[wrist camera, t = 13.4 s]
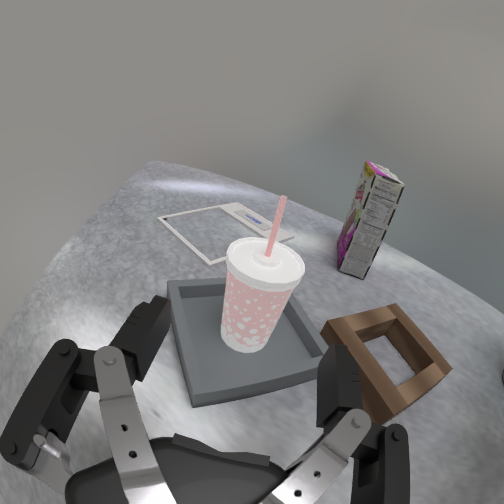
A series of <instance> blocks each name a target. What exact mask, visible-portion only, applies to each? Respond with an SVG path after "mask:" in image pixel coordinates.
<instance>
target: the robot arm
mask: <svg viewBox="0 0 504 504" xmlns="http://www.w3.org/2000/svg"><path fill="white" fill-rule="evenodd" d="M170 323H171V300H170V299H167V298H164V297H161V296H158V295H155V296H154V298H153V299H152V301H151V302H150V304H149V303H146V302H142V303H141V304H139V305H138V306H136V307H135V308H134V310H133V311H132V312H131V314H130V316H129V317H128V318H127V320H126V322H125V323H124V324H123V325H122V327H121V328H120V330H119V331H118V333H117V334H116V336H115V337H114V339H113V340H112V342H111V343H110V344H109V345H108V346H104V347H102V348H100V349H98V350H96V351H94V350H87V349H80V348H78V346H77V345H76V343H75V342H74V341H72V340H70V339H61V340H59V341H57V342H56V343H55V344H54V345H53V346H52V348H51V349H50V351H49V352H48V354H47V355H46V357H45V358H44V360H43V361H42V363H41V365H40V366H39V368H38V369H37V371H36V373H35V374H34V376H33V377H32V379H31V381H30V382H29V384H28V386H27V388H26V389H25V391H24V393H23V395H22V396H21V398H20V400H19V402H18V404H17V405H16V407H15V409H14V411H13V413H12V415H11V417H10V419H9V421H8V423H7V425H6V427H5V429H4V431H3V433H2V435H1V437H0V453H1V455H2V456H3V458H4V459H5V460H6V461H7V462H9V463H10V464H12V465H14V466H16V467H17V468H18V469H20V470H22V471H24V472H26V473H28V474H30V475H33V476H34V477H36V478H37V479H39V480H40V481H41V482H43V483H45V484H46V485H48V486H49V487H51V488H52V489H54V490H56V491H57V492H59V493H60V494H62V495H64V496H65V500H66V504H313V503H314V502H315V501H316V500H317V499H318V498H319V497H320V496H321V495H322V494H323V493H324V492H325V491H326V489H327V488H328V487H329V486H330V485H331V484H332V483H333V482H334V480H335V479H336V478H337V477H338V476H339V475H340V473H341V472H342V471H343V470H344V469H345V467H346V466H347V464H348V461H347V460H348V458H349V457H353V458H354V469H353V482H352V493H351V503H350V504H410V462H409V444H408V434H407V431H406V429H405V428H404V427H403V426H402V425H400V424H391V425H389V426H388V427H384V426H382V425H379V424H376V423H374V422H372V421H371V419H370V417H369V415H368V414H367V413H366V412H365V411H364V410H363V401H362V391H361V383H360V376H359V375H360V374H359V366H358V364H357V362H356V360H355V358H354V357H350V356H349V352H348V346H347V345H343V344H337V343H331V345H330V346H329V348H328V349H327V351H326V352H325V354H324V355H323V357H322V359H321V360H320V362H319V365H318V369H317V421H316V427H320V428H324V433H323V434H322V435H321V436H320V437H319V438H318V439H317V440H316V441H315V442H314V443H313V444H312V445H311V446H310V447H309V448H308V449H307V450H306V451H305V452H304V453H303V454H302V455H301V456H300V457H299V458H298V459H297V460H296V461H294V462H293V463H292V464H291V465H289V466H288V467H287V468H286V469H285V470H283V469H282V468H281V467H280V466H278V465H276V464H275V463H273V462H271V461H270V456H266V455H259V454H254V453H248V452H219V451H217V450H215V449H213V448H211V447H209V446H208V445H206V444H204V443H202V442H200V441H198V440H195V439H192V438H188V437H185V436H182V435H179V434H176V433H175V434H174V437H160V438H154V439H151V440H149V438H148V435H147V432H146V430H145V427H144V424H143V421H142V418H141V415H140V412H139V409H138V406H137V402H136V399H135V396H134V392H133V388H132V386H133V384H134V382H135V380H138V381H140V382H142V381H143V379H144V377H145V375H146V373H147V371H148V369H149V367H150V365H151V363H152V361H153V359H154V357H155V356H156V354H157V352H158V350H159V348H160V346H161V344H162V342H163V340H164V338H165V336H166V334H167V332H168V330H169V327H170ZM503 381H504V371H503ZM89 391H92V392H99V394H100V400H99V404H100V410H101V414H102V418H103V422H104V426H105V430H106V434H107V438H108V441H109V445H110V448H111V451H112V454H113V457H112V458H110V459H108V460H106V461H103V462H101V463H99V464H96V465H94V466H92V467H89V468H87V469H84V470H82V471H79V472H77V473H75V474H73V473H72V471H71V468H70V459H71V453H70V450H69V448H68V447H67V445H66V444H65V443H66V440H67V438H68V436H69V433H70V431H71V429H72V427H73V424H74V422H75V420H76V418H77V416H78V414H79V411H80V409H81V407H82V405H83V403H84V401H85V399H86V397H87V395H88V393H89Z"/></svg>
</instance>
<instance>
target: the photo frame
mask: <svg viewBox="0 0 504 504" xmlns="http://www.w3.org/2000/svg"><path fill="white" fill-rule="evenodd" d="M213 210H220V211H222V212H223V213H225V214H226V215H228V216H229V217H231V218H232V219H234V220H235V221H237V222H238V223H240V224H241V225H243V226H244V227H246V228H247V229H249V230H251V231H252V232H254V233H255V234H257V235H258V236H260V237H261V238H266V239H269V237H270V233H271V230H272V226H273V223H272V222H270V221H268V220H267V219H265V218H263V217H262V216H260V215H258V214H257V213H255V212H253V211H252V210H250V209H248V208H247V207H245V206H243V205H242V204H240V203H238V202H236V203H230V204H224V205H218V206H213V207H207V208H202V209H197V210H191V211H186V212H181V213H176V214H171V215H166V216H161V217H157V221H158V222H159V223H160V224H161V225H162V226H163V227H164V228H166V229H167V230H168V231H169V232H170V233H171V234H172V235H173V236H174V237H175V238H176V239H177V240H178V241H180V242H181V243H182V244H183V245H184V246H185V247H186V248H187V249H188V250H189V251H190V252H191V253H193V254H194V255H195V256H196V257H197V258H198V259H199V260H200V261H201V262H203V263H204V264H205V265H206V266H207V267H208V268H212V267H214V266H217V265H220V264H223V263H226V258H227V256H225V257H222V258H219V259H216V260H213V261H210V260H209V259H207V258H206V257H205V256H204V255H203V254H202V253H201V252H199V251H198V250H197V249H196V248H195V247H194V246H193V245H191V244H190V243H189V242H188V241H187V240H186V239H185V238H184V237H182V236H181V235H180V234H179V233H178V232H177V231H176V230H175V229H173V228H172V227H171V226H170V225H169V224H168V223H167V222H166V221H165V220H164V218H167V220H169V219H174V218H178V217H183V216H188V215H193V214H198V213H203V212H208V211H213ZM293 237H294V236H293V235H291V234H289V233H288V232H286V231H285V230H283V229H281V228H280V227H279V229H278V232H277V236H276V239H275V241H277V242H279V243H282V242H285V241H288V240H291V239H293Z"/></svg>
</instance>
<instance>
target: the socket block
mask: <svg viewBox="0 0 504 504" xmlns="http://www.w3.org/2000/svg"><path fill="white" fill-rule="evenodd" d="M320 335H321V336H322V338H323V339H324V341H325V342H326V344H327V345H328V347H329V346H330V345H331V343H337V344H343V345H347V346H348V352H349V356H350V357H354V358H355V360H356V362H357V364H358V366H359V374H360V375H359V376H360V383H361V391H362V401H363V410H364V411H365V412H366V413H367V414H368V415H369V417H370V419H371V421H372V422H374V423H376V424H379V425H383V424H384V423H386V422H387V421H389V420H390V419H392V418H393V417H395V416H396V415H398V414H399V413H401V412H402V411H403V410H405V409H406V408H408V407H409V406H410V405H412V404H413V403H414V402H416V401H417V400H418V399H420V398H421V397H422V396H423V395H425V394H426V393H427V392H428V391H430V390H431V389H432V388H433V387H434V386H436V385H437V384H438V383H439V382H440V381H441V380H442V379H443V378H444V377H445V376H446V375H447V374H448V373H449V372H450V371H451V370H452V367H451V366H450V365H449V364H448V362H447V361H446V360H445V359H444V357H443V356H442V355H441V354H440V353H439V351H438V350H437V349H436V348H435V347H434V345H433V344H432V343H431V342H430V341H429V340H428V338H427V337H426V336H425V335H424V334H423V333H422V332H421V330H420V329H419V328H418V327H417V326H416V325H415V324H414V322H413V321H412V320H411V319H410V318H409V317H408V316H407V315H406V314H405V313H404V311H403V310H402V309H401V308H400V307H399V306H398V305H397V304H396V303H395V304H391V305H387V306H384V307H380V308H376V309H373V310H369V311H365V312H361V313H357V314H353V315H349V316H344V317H340V318H336V319H331V320H327V322H326V324H325V325H324V327H323V329H322V331H321V333H320ZM382 335H386V337H387V338H388V339H389V340H390V341H391V343H392V344H393V345H394V346H395V348H396V349H397V350H398V351H399V353H400V354H401V355H402V356H403V358H404V359H405V360H406V361H407V363H408V364H409V365H410V367H411V368H412V369H413V370H414V372H415V373H416V374H417V375H415V376H414V377H412V378H411V379H409V380H408V381H406V382H404V383H403V384H401V385H400V386H398V387H395V385H394V384H393V383H392V381H391V380H390V379H389V377H388V376H387V374H386V373H385V372H384V370H383V369H382V368H381V366H380V365H379V364H378V362H377V361H376V360H375V358H374V357H373V356H372V354H371V353H370V352H369V350H368V349H367V348H366V346H365V345H364V344H363V342H366V341H369V340H372V339H374V338H377V337H380V336H382Z"/></svg>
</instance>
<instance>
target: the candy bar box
mask: <svg viewBox="0 0 504 504" xmlns="http://www.w3.org/2000/svg"><path fill="white" fill-rule="evenodd" d="M404 186H405V185H404V184H403V183H402V182H401V181H400V180H399V179H398V178H397V177H396V176H395V175H394V174H393V173H392V172H391V171H390V170H389V169H387V168H385V167H382V166H380V165H377V164H374V163H372V162H368V161H365V164H364V167H363V170H362V173H361V177H360V180H359V183H358V186H357V189H356V192H355V195H354V198H353V201H352V204H351V206H350V209H349V212H348V215H347V218H346V220H345V223H344V226H343V228H342V231H341V234H340V236H339V239H338V271H340V272H342V273H344V274H348V275H351V276H354V277H357V278H360V279H363V280H364V278H365V276H366V274H367V272H368V270H369V268H370V266H371V264H372V262H373V260H374V258H375V256H376V254H377V251H378V249H379V247H380V245H381V243H382V240H383V238H384V236H385V234H386V231H387V229H388V226H389V224H390V222H391V219H392V217H393V215H394V212H395V209H396V207H397V204H398V201H399V198H400V196H401V194H402V191H403V189H404Z"/></svg>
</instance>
